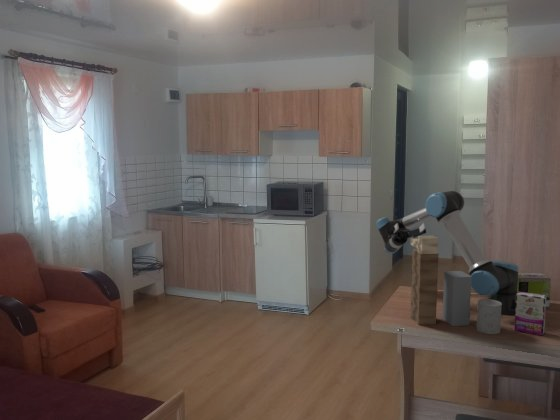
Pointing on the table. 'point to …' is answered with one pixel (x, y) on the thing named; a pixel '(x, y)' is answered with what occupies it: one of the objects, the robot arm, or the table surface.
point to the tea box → (534, 284)
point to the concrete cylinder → (489, 316)
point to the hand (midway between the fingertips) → (411, 225)
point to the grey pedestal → (456, 298)
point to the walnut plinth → (424, 287)
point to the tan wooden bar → (425, 244)
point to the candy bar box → (530, 313)
